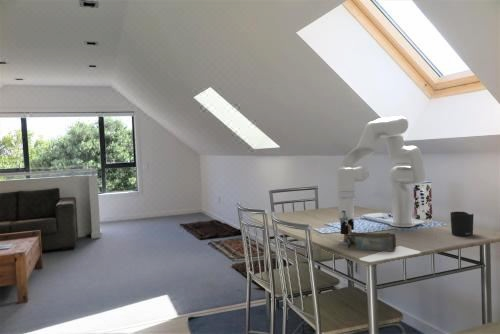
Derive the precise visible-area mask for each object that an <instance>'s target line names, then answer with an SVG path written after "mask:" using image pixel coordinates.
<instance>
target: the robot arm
mask: <svg viewBox="0 0 500 334" xmlns="http://www.w3.org/2000/svg"><path fill="white" fill-rule="evenodd" d="M408 128H409V121H408V119H407V118H406V117H404V116H402V115H400V116H399V115H398V116H391V117H387V116H386V117H381V118H377V119H375V120H372V121H369V122H367V123H366V125H365V127H364V130H363V131H362V133H361V136H360V139H359V141H358V144H357V145H356V146H355V147H354V148H353V149H352V150H350V151H349V152H348V153H347V154H346V155H345V156H344V157H343V159H342V161H341V163H340V166H339V168H337V169H336V170H337V171H336V179H337V180H336V182H337V183H336V184H337V198H338V208H337V209H338V212H337V214H338V215H337V217H338V220H339V222H340V235H344V234H348V225H347V223H348V224H349V225H350V226H351V231H352V230H353V231H354V230H355V226H354V225H355V222H354V220H355V219H354V216H355V207H354V206H355V205H354V198H355V197H356V192H355V191H356V190H355V187H356V186H355V183H363V182H366V181H367V180H368V179H369V177H370V171H369V170H368V168H367V167H365V166H363V165H355V164H357V162H359V161H361V160H363V159H366V158H368V157H370V156H372V155H373V154H375V151H376V149H377V147H378V145H379V142H380V139H384V140H385V143H386V146H387V147H386V148H387V152H388V157H389V160H390V161H389V162H390V163H391V164H394V165H397V166H394V167H392V168H391V169H390V171H389V179H390V184H391V195H392V198H391V199H392V201H391V202H392V221H393V223H391V222H392V221H390V222H389V225H390V226H392V227H397V228H412V227H415V226H416V223H415V222H414V221H413V210H412V203H413V202H412V191H411V188H410V187H409V186H408V185H414V186H415V185H422V184H423V183H424V182H425V178H426V173H425V168H424V162H423V161H424V160H423V156H422V154H423V153H422V152H421V149H420V148H419V147H418V146H415V145H407V146H406V145H405V140H404V136H403V134H404V133H406V131H407V130H408ZM412 222H413V223H412Z"/></svg>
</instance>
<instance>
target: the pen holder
mask: <svg viewBox="0 0 500 334" xmlns="http://www.w3.org/2000/svg"><path fill="white" fill-rule="evenodd" d="M450 229H451V230H450V231H451V235H453V236H456V237H472V236H473V235H474V213H468V212H465V211H450Z"/></svg>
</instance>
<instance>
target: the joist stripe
mask: <svg viewBox="0 0 500 334" xmlns="http://www.w3.org/2000/svg"><path fill="white" fill-rule="evenodd" d="M337 242H340V243H338V245H340V246H341V245H342V246H347V242H344V239H343V240H341V239H340V240H338V241H337Z"/></svg>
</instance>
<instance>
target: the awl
mask: <svg viewBox="0 0 500 334" xmlns="http://www.w3.org/2000/svg"><path fill="white" fill-rule="evenodd" d="M347 225H348V234H349V233H350V232H352V230H351V226H350V225H349V224H348V223H347ZM348 234H343V240H344V242H347V235H348Z"/></svg>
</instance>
